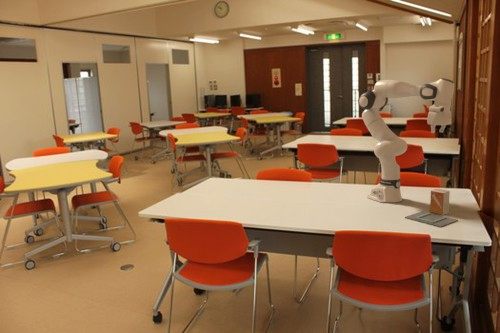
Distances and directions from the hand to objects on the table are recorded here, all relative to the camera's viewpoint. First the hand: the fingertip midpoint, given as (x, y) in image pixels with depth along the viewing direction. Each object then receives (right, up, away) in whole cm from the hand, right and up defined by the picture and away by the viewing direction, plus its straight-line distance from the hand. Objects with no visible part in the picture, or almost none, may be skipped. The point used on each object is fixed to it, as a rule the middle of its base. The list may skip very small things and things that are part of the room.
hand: (437, 132), depth 252 cm
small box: (+3, -46, +4) cm, 46 cm away
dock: (-6, -48, -7) cm, 49 cm away
